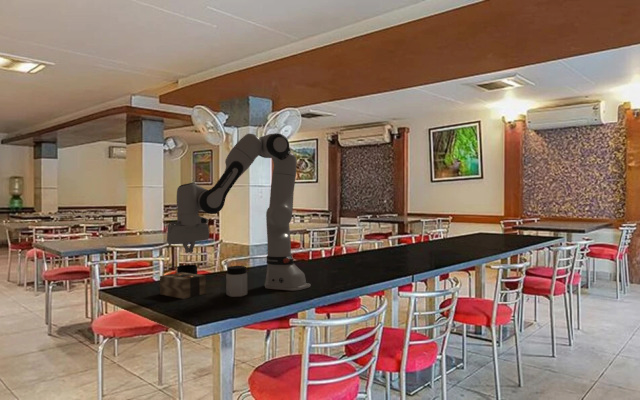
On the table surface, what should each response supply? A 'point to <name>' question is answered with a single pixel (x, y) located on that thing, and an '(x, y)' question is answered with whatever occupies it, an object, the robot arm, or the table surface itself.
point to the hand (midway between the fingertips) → (189, 252)
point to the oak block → (183, 285)
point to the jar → (236, 281)
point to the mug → (187, 269)
